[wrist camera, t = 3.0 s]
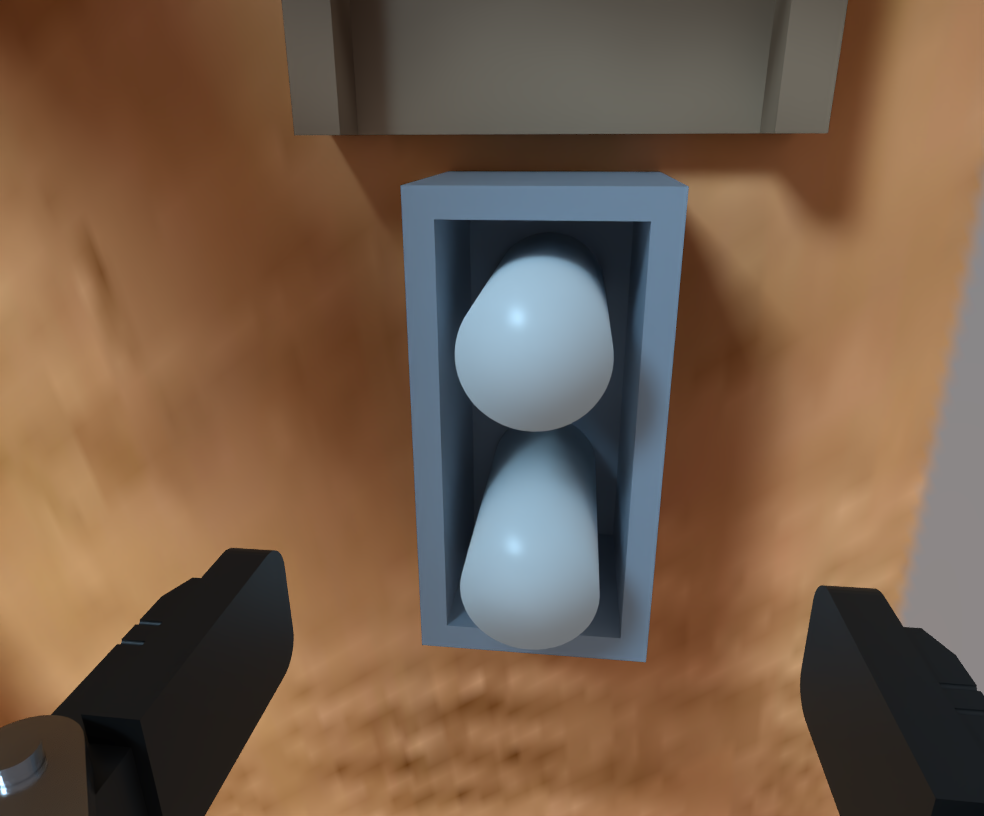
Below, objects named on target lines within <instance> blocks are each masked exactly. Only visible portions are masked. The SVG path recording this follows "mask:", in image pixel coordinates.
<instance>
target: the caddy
mask: <svg viewBox="0 0 984 816" xmlns="http://www.w3.org/2000/svg"><path fill="white" fill-rule="evenodd" d="M688 188H689V186H687V185H685V184H683V183H681V182H679V181H677V180H675V179H673V178H671V177H669V176H667V175H665V174H663V173H662V172H594V171H448V172H445V173H441V174H438V175H435V176H431V177H428V178H424V179H421V180H417V181H414V182H410V183H407V184H404V185H401V205H402V227H403V248H404V269H405V290H406V311H407V333H408V354H409V375H410V396H411V418H412V439H413V460H414V481H415V502H416V524H417V545H418V566H419V587H420V609H421V630H422V645H430V646H443V647H456V648H469V649H482V650H495V651H508V652H521V653H534V654H547V655H560V656H573V657H586V658H599V659H611V660H624V661H637V662H646V656H647V645H648V633H649V622H650V611H651V600H652V589H653V578H654V567H655V556H656V544H657V533H658V522H659V511H660V500H661V489H662V478H663V467H664V455H665V444H666V433H667V422H668V411H669V400H670V389H671V378H672V366H673V355H674V344H675V333H676V322H677V311H678V300H679V289H680V277H681V266H682V255H683V244H684V233H685V222H686V211H687V200H688Z"/></svg>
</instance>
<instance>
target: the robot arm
mask: <svg viewBox="0 0 984 816" xmlns="http://www.w3.org/2000/svg"><path fill="white" fill-rule="evenodd" d="M293 640H294V634H293V625H292V618H291V610H290V603H289V596H288V588H287V581H286V573H285V566H284V561H283V558H282V556H281V554H280V553H279V552H278V551H274V550H258V549H241V548H229V549H228V550H226V551H225V552H224V553H223V554H222V555H221V556H220V557H219V558H218V560H217V561H216V562H215V563H214V564H213V565H212V566H211V568H210V569H209V570H208V571H207V572H206V573H205V574H204V575H203V577H202V578H191V579H190V580H188V581H186V582H185V583H183V584H181V585H180V586H178V587H177V588H175V589H173V590H172V591H170V592H168V593H167V594H165V595H163V596H162V597H161V598H160V599H159V600H158V601H157V602H156V603H155V604H154V605H153V606H152V607H151V608H150V610H149V611H148V612H147V613H146V614H145V615H144V616H143V617H142V618H141V619H140V623H139V625H135V626H134V627H133V628H132V629H131V630H130V631H129V632H128V633H127V634H126V635H125V636H124V637H123V638H122V643H121V644H117V645H116V646H115V647H114V648H113V649H112V650H111V651H110V652H109V653H108V655H107V656H106V657H105V658H104V659H103V660H102V661H101V662H100V663H99V664H98V665H97V666H96V667H95V668H94V670H93V671H92V672H91V673H90V674H89V675H88V676H87V677H86V678H85V679H84V680H83V681H82V682H81V683H80V684H79V686H78V687H77V688H76V689H75V690H74V691H73V692H72V693H71V694H70V695H69V696H68V697H67V698H66V699H65V701H64V702H63V703H62V704H61V705H60V706H59V707H58V708H57V709H56V710H55V711H54V712H53V713H52V714H51V715H43V716H36V717H30V718H26V719H23V720H19V721H16V722H13V723H11V724H8V725H5V726H3V727H1V728H0V816H205V814H206V813H207V811H208V809H209V807H210V806H211V804H212V802H213V800H214V799H215V797H216V795H217V793H218V792H219V790H220V788H221V786H222V785H223V783H224V781H225V779H226V778H227V776H228V774H229V772H230V771H231V769H232V767H233V765H234V764H235V762H236V760H237V758H238V757H239V755H240V753H241V751H242V750H243V748H244V746H245V744H246V743H247V741H248V739H249V737H250V736H251V734H252V732H253V730H254V728H255V727H256V725H257V723H258V721H259V720H260V718H261V716H262V714H263V713H264V711H265V709H266V707H267V706H268V704H269V702H270V700H271V699H272V697H273V695H274V693H275V692H276V690H277V688H278V686H279V685H280V683H281V681H282V679H283V678H284V676H285V674H286V672H287V669H288V667H289V664H290V660H291V656H292V651H293ZM800 693H801V703H802V709H803V713H804V717H805V721H806V723H807V726H808V729H809V732H810V734H811V737H812V740H813V743H814V745H815V748H816V751H817V754H818V757H819V759H820V762H821V765H822V768H823V770H824V773H825V776H826V779H827V781H828V784H829V787H830V790H831V792H832V795H833V798H834V801H835V803H836V806H837V809H838V812H839V814H840V816H984V695H983V694H982V692H981V691H977V688H976V684H975V682H974V681H973V679H972V678H971V677H970V675H969V674H968V672H967V671H966V670H965V668H964V667H963V665H962V664H961V662H960V661H959V659H958V658H957V656H956V655H955V654H953V653H952V652H951V651H950V650H948V649H947V648H946V647H945V646H943V645H942V644H941V643H939V642H938V641H937V640H936V639H934V638H933V637H932V636H931V635H929V634H928V633H926V632H925V631H924V630H923V629H922V628H909V627H903V626H902V624H901V622H900V621H899V619H898V618H897V616H896V615H895V613H894V611H893V610H892V608H891V607H890V605H889V603H888V602H887V600H886V599H885V597H884V596H883V594H882V593H881V592H880V591H879V590H877V589H871V588H855V587H839V586H819V587H818V588H817V590H816V592H815V595H814V599H813V605H812V610H811V616H810V622H809V628H808V634H807V640H806V645H805V651H804V657H803V663H802V669H801V678H800Z"/></svg>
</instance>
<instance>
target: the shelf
mask: <svg viewBox="0 0 984 816" xmlns="http://www.w3.org/2000/svg"><path fill="white" fill-rule="evenodd" d="M847 4H848V0H282V10H283V20H284V31H285V41H286V52H287V62H288V73H289V83H290V94H291V104H292V115H293V125H294V135H442V134H705V133H828V129H829V122H830V115H831V109H832V102H833V96H834V89H835V83H836V76H837V69H838V63H839V56H840V50H841V43H842V37H843V30H844V23H845V17H846V10H847Z"/></svg>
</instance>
